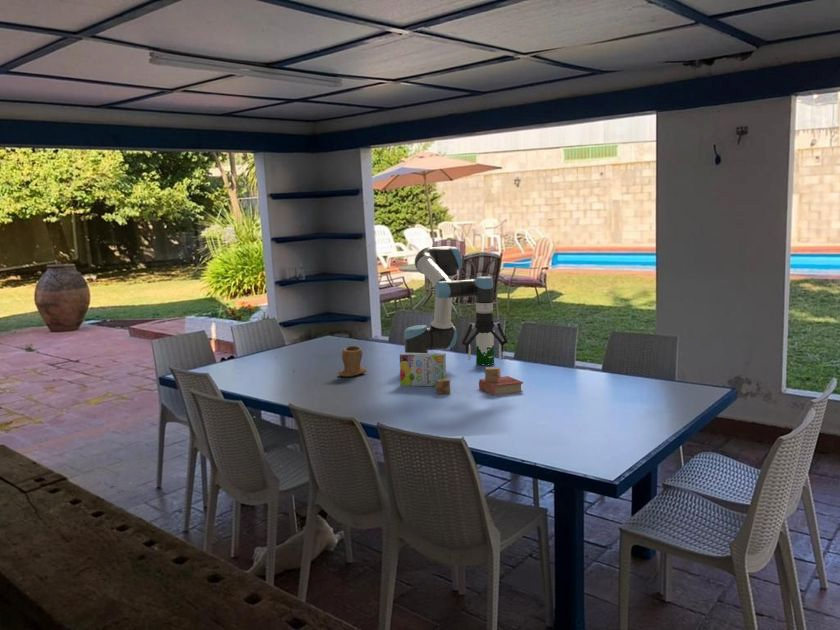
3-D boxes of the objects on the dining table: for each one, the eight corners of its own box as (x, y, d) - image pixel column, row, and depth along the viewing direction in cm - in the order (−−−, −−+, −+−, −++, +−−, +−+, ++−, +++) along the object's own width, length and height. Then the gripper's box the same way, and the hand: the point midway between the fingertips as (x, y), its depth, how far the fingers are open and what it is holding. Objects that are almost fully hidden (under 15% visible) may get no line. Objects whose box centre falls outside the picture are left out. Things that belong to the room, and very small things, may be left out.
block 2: (485, 380, 325) (485, 367, 324) (496, 380, 325) (496, 366, 324) (486, 382, 320) (486, 369, 319) (497, 382, 320) (497, 369, 320)
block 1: (439, 395, 319) (439, 381, 318) (435, 392, 324) (435, 379, 323) (450, 393, 320) (449, 380, 320) (446, 391, 325) (446, 378, 324)
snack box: (446, 384, 340) (446, 352, 338) (443, 387, 334) (443, 355, 332) (403, 383, 345) (402, 351, 343) (400, 385, 340) (399, 354, 338)
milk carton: (482, 362, 392) (481, 325, 389) (496, 363, 386) (496, 326, 384) (473, 364, 385) (473, 327, 382) (488, 366, 379) (487, 328, 377)
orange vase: (350, 379, 357) (349, 349, 355) (334, 376, 365) (333, 347, 363) (372, 374, 368) (371, 345, 366) (357, 371, 376) (356, 343, 374)
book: (478, 390, 328) (477, 379, 328) (507, 386, 334) (507, 376, 333) (492, 396, 315) (492, 385, 314) (523, 393, 320) (523, 382, 320)
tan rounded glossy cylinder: (486, 387, 331) (486, 370, 330) (484, 384, 338) (484, 367, 337) (501, 386, 332) (501, 369, 331) (499, 383, 338) (499, 366, 338)
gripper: (456, 314, 313) (457, 362, 316) (514, 312, 314) (514, 360, 317) (455, 311, 321) (455, 358, 324) (511, 310, 322) (511, 356, 325)
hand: (484, 359), depth 321 cm, fingers open, 13 cm apart
